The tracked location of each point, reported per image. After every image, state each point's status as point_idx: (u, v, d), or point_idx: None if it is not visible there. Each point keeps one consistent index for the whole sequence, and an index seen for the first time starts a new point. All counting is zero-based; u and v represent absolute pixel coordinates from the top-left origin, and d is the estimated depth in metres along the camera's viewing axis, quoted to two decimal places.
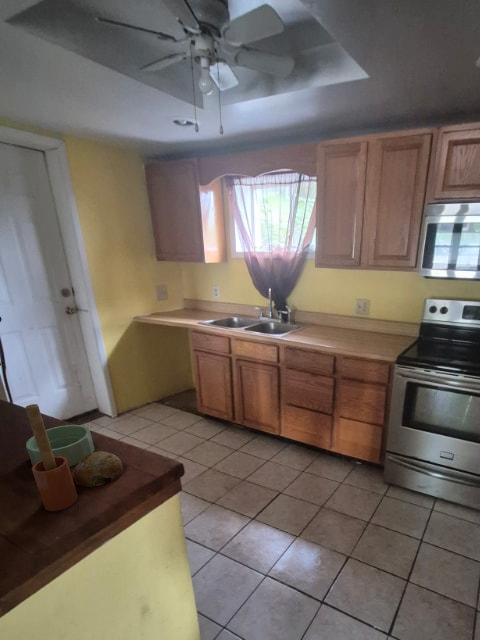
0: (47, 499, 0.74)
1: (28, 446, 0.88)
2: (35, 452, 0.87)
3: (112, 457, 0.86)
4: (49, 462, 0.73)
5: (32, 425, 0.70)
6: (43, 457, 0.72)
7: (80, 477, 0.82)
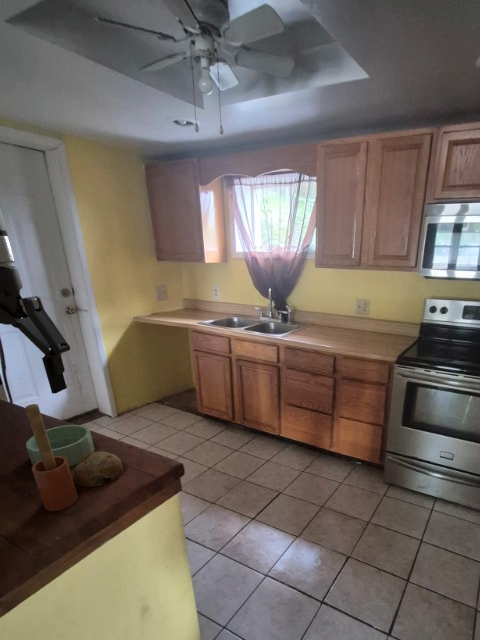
0: (47, 499, 0.74)
1: (28, 446, 0.88)
2: (35, 452, 0.87)
3: (112, 457, 0.86)
4: (49, 462, 0.73)
5: (32, 425, 0.70)
6: (43, 457, 0.72)
7: (80, 477, 0.82)
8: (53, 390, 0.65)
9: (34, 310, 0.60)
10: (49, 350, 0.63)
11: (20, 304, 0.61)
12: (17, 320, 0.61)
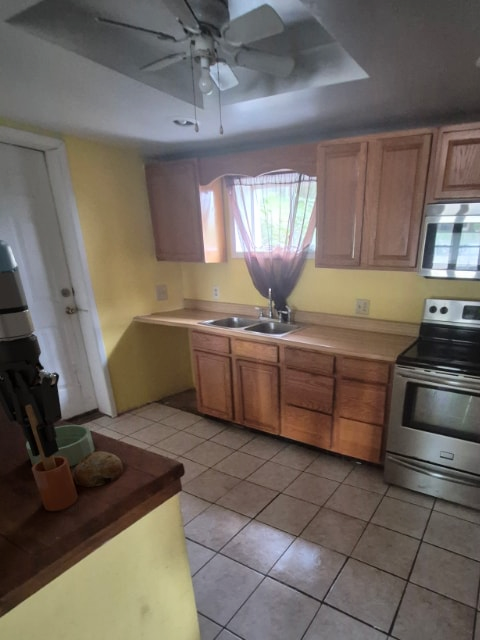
0: (47, 499, 0.74)
1: (28, 446, 0.88)
2: None
3: (112, 457, 0.86)
4: (49, 462, 0.73)
5: (32, 425, 0.70)
6: (42, 457, 0.72)
7: (80, 477, 0.82)
8: (46, 455, 0.72)
9: (49, 387, 0.66)
10: (44, 422, 0.69)
11: (39, 374, 0.66)
12: (30, 390, 0.66)
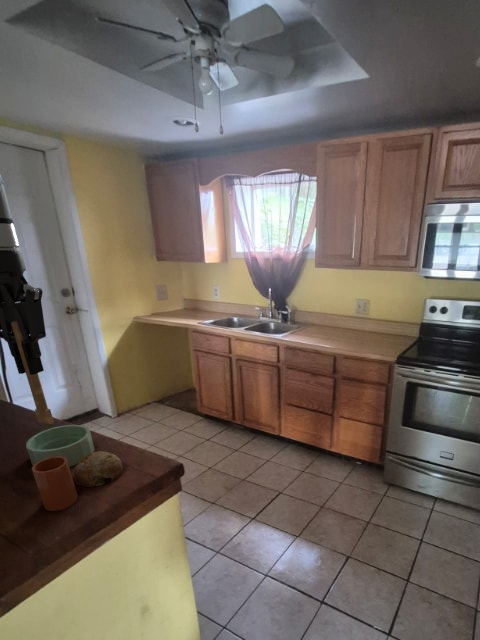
0: (47, 499, 0.74)
1: (28, 446, 0.88)
2: (35, 452, 0.87)
3: (112, 457, 0.86)
4: (34, 380, 0.76)
5: (17, 341, 0.73)
6: (28, 375, 0.76)
7: (80, 477, 0.82)
8: (31, 372, 0.75)
9: (32, 301, 0.69)
10: (29, 338, 0.72)
11: (23, 288, 0.69)
12: (15, 304, 0.69)
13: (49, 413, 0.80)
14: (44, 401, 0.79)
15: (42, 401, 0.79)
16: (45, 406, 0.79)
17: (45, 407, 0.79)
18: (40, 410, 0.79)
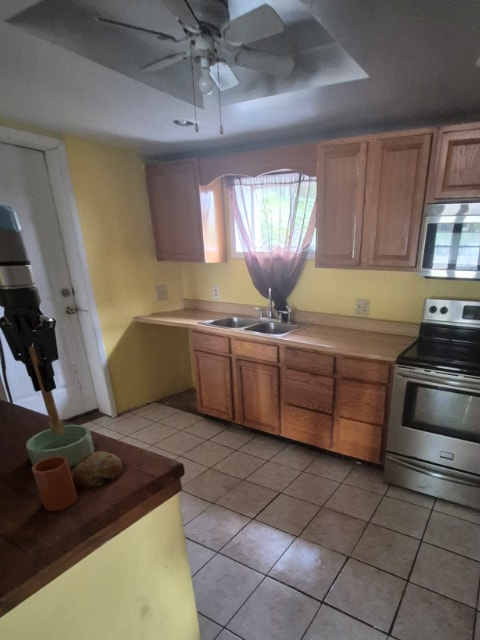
0: (47, 499, 0.74)
1: (28, 446, 0.88)
2: (35, 452, 0.87)
3: (112, 457, 0.86)
4: (48, 396, 0.88)
5: (34, 363, 0.84)
6: (43, 392, 0.87)
7: (80, 477, 0.82)
8: (46, 389, 0.86)
9: (48, 329, 0.80)
10: (44, 361, 0.83)
11: (39, 319, 0.80)
12: (32, 332, 0.81)
13: (61, 425, 0.91)
14: (57, 414, 0.90)
15: (55, 414, 0.90)
16: (57, 419, 0.91)
17: (57, 420, 0.91)
18: (53, 422, 0.90)
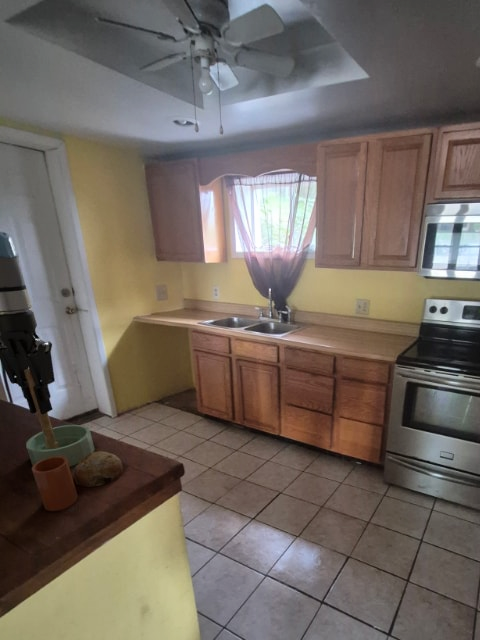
0: (47, 499, 0.74)
1: (28, 446, 0.88)
2: (35, 452, 0.87)
3: (112, 457, 0.86)
4: (44, 418, 0.88)
5: (30, 386, 0.84)
6: (39, 414, 0.87)
7: (80, 477, 0.82)
8: (42, 412, 0.86)
9: (43, 353, 0.81)
10: (40, 383, 0.84)
11: (35, 343, 0.80)
12: (28, 356, 0.81)
13: (57, 445, 0.91)
14: (53, 435, 0.90)
15: (51, 435, 0.90)
16: (54, 440, 0.91)
17: (54, 440, 0.91)
18: (49, 443, 0.90)
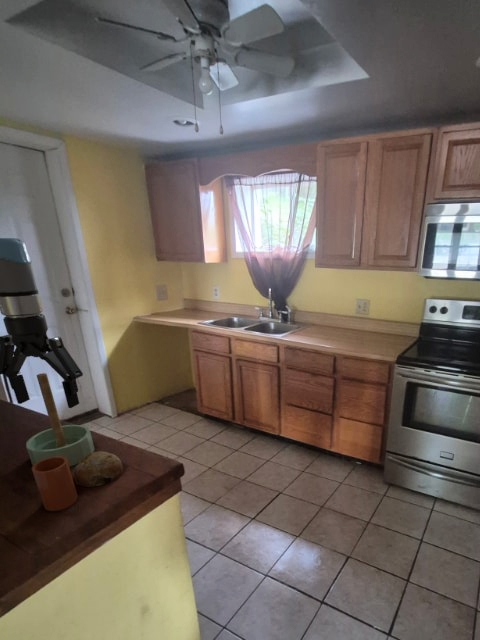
0: (47, 499, 0.74)
1: (28, 446, 0.88)
2: (35, 452, 0.87)
3: (112, 457, 0.86)
4: (55, 421, 0.90)
5: (42, 390, 0.87)
6: (50, 417, 0.89)
7: (80, 477, 0.82)
8: (69, 405, 0.87)
9: (57, 347, 0.82)
10: (67, 376, 0.84)
11: (46, 343, 0.82)
12: (44, 354, 0.82)
13: None
14: (63, 438, 0.93)
15: (61, 438, 0.92)
16: (64, 442, 0.93)
17: (64, 443, 0.93)
18: (60, 446, 0.93)
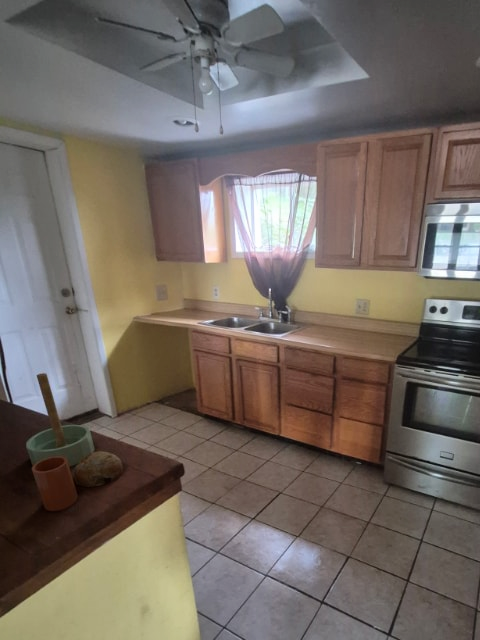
0: (47, 499, 0.74)
1: (28, 446, 0.88)
2: (35, 452, 0.87)
3: (112, 457, 0.86)
4: (55, 421, 0.90)
5: (42, 390, 0.87)
6: (50, 417, 0.89)
7: (80, 477, 0.82)
8: None
9: None
10: None
11: None
12: None
13: None
14: (63, 438, 0.93)
15: (61, 438, 0.92)
16: (64, 442, 0.93)
17: (64, 443, 0.93)
18: (60, 446, 0.93)
